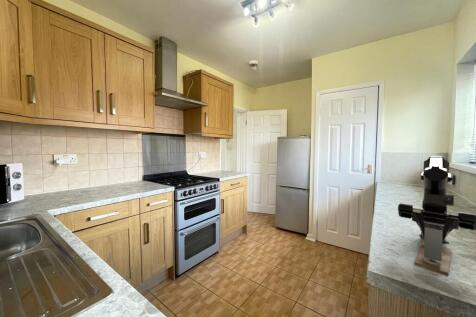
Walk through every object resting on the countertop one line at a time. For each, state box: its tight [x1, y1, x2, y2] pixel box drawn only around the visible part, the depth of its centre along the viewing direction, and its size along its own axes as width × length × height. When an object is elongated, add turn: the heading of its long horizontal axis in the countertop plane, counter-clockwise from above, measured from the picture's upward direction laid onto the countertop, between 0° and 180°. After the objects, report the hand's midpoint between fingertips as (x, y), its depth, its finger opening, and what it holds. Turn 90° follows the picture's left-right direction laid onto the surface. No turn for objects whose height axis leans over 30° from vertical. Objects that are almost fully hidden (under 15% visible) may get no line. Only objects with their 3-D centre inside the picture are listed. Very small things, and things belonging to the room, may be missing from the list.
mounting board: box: [413, 243, 453, 276], centre depth 66 cm, size 18×8×2 cm, turn 130°
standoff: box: [423, 224, 443, 262], centre depth 64 cm, size 4×4×10 cm
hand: (433, 238), depth 63 cm, fingers closed on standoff, 4 cm apart
